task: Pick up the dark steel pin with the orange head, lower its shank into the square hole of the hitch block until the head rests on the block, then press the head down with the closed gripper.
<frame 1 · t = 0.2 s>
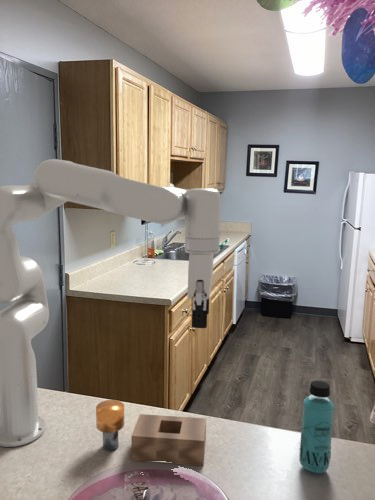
hand: (200, 320, 96), 31 cm above the countertop, tool pointing down, fingers open, 9 cm apart
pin: (110, 446, 100), on the countertop
hitch block: (170, 450, 99), on the countertop
beverage bottle: (314, 470, 93), on the countertop
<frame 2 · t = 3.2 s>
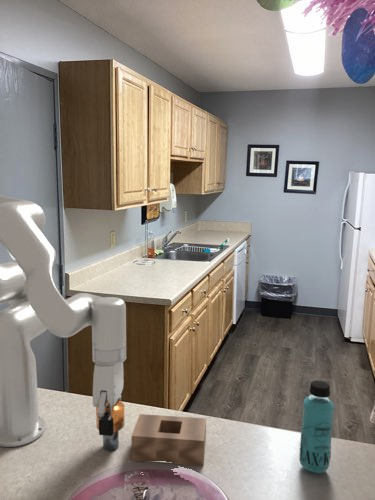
hand: (110, 425, 99), 5 cm above the countertop, tool pointing down, fingers closed on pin, 6 cm apart
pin: (110, 446, 100), on the countertop, touching gripper
everything else where it was.
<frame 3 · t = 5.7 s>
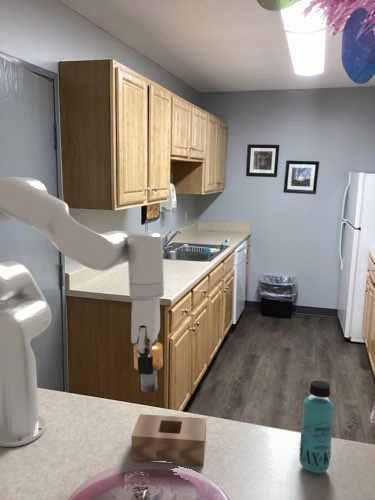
hand: (148, 366, 96), 20 cm above the countertop, tool pointing down, fingers closed on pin, 6 cm apart
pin: (149, 388, 97), point 15 cm above the countertop, touching gripper
everything else where it was.
when the fingers open (7 cm above the countertop, at t = 8.4 s): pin drops 1 cm, resting on hitch block.
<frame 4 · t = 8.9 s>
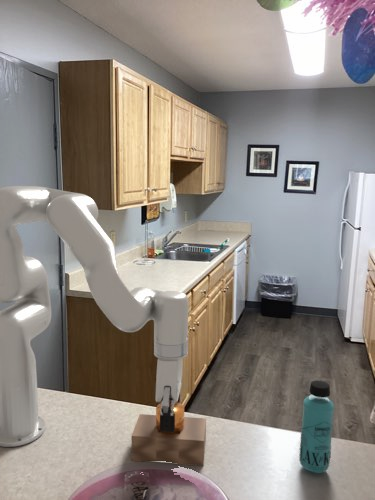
hand: (170, 418, 98), 8 cm above the countertop, tool pointing down, fingers open, 9 cm apart
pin: (169, 448, 99), resting on hitch block
everything else where it was.
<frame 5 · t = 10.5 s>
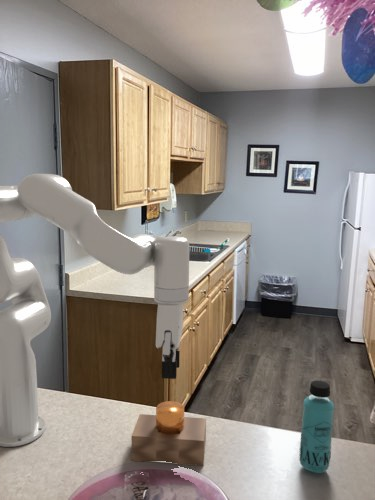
hand: (170, 371, 96), 19 cm above the countertop, tool pointing down, fingers open, 4 cm apart
nothing on the countertop moved.
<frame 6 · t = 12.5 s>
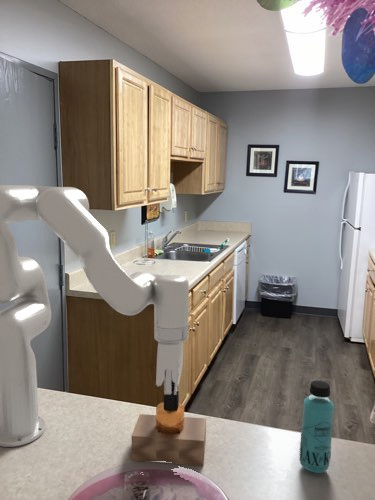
hand: (171, 408, 97), 10 cm above the countertop, tool pointing down, fingers closed
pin: (169, 448, 99), resting on hitch block, touching gripper
everything else where it was.
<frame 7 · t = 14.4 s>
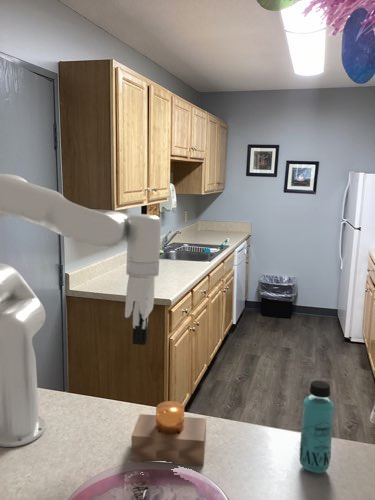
hand: (139, 343, 102), 23 cm above the countertop, tool pointing down, fingers closed
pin: (169, 448, 99), resting on hitch block
everything else where it was.
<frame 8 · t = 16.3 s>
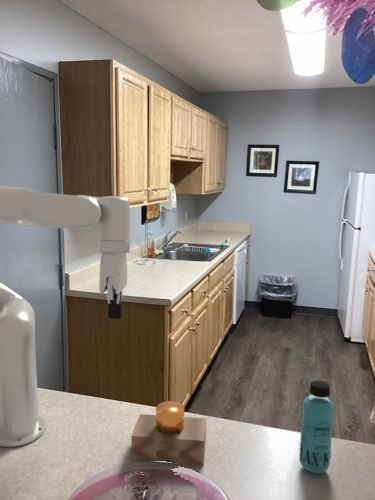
hand: (115, 317, 109), 27 cm above the countertop, tool pointing down, fingers closed
nothing on the countertop moved.
at the end: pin 0.1 cm off-centre on the hitch block, point 0.5 cm above the hitch block's base; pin tilted 0°; the gripper is holding nothing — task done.
